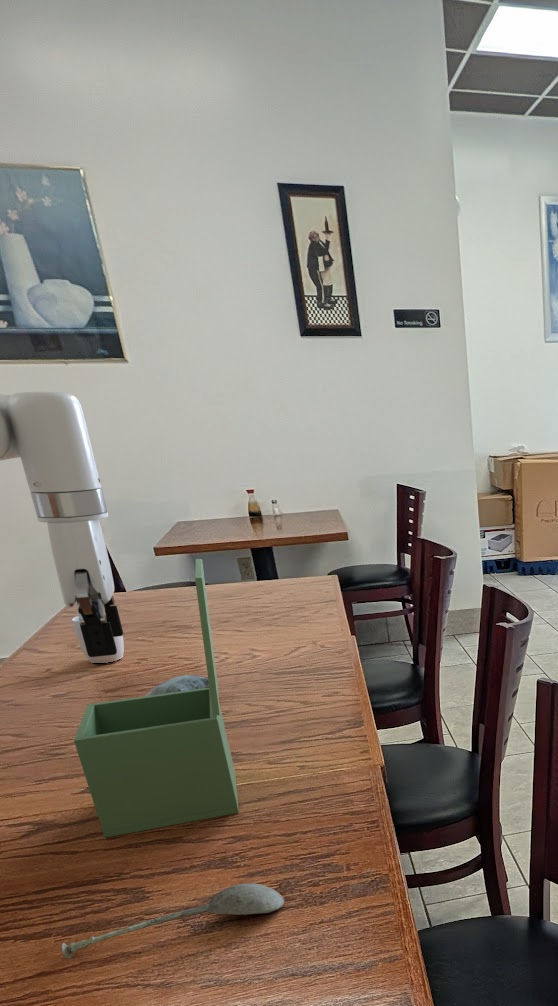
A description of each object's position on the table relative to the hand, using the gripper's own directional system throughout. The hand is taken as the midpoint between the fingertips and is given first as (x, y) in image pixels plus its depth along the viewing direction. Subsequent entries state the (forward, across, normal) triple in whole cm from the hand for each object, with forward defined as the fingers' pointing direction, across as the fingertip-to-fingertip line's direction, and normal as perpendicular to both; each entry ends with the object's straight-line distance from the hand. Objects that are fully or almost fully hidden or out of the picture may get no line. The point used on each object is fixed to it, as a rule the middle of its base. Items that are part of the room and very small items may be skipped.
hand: (107, 645), depth 106 cm
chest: (+23, 0, +3) cm, 24 cm away
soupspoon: (+24, +34, +5) cm, 42 cm away
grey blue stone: (+24, -47, +3) cm, 52 cm away
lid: (0, 0, +12) cm, 12 cm away
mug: (+24, -88, -13) cm, 92 cm away
